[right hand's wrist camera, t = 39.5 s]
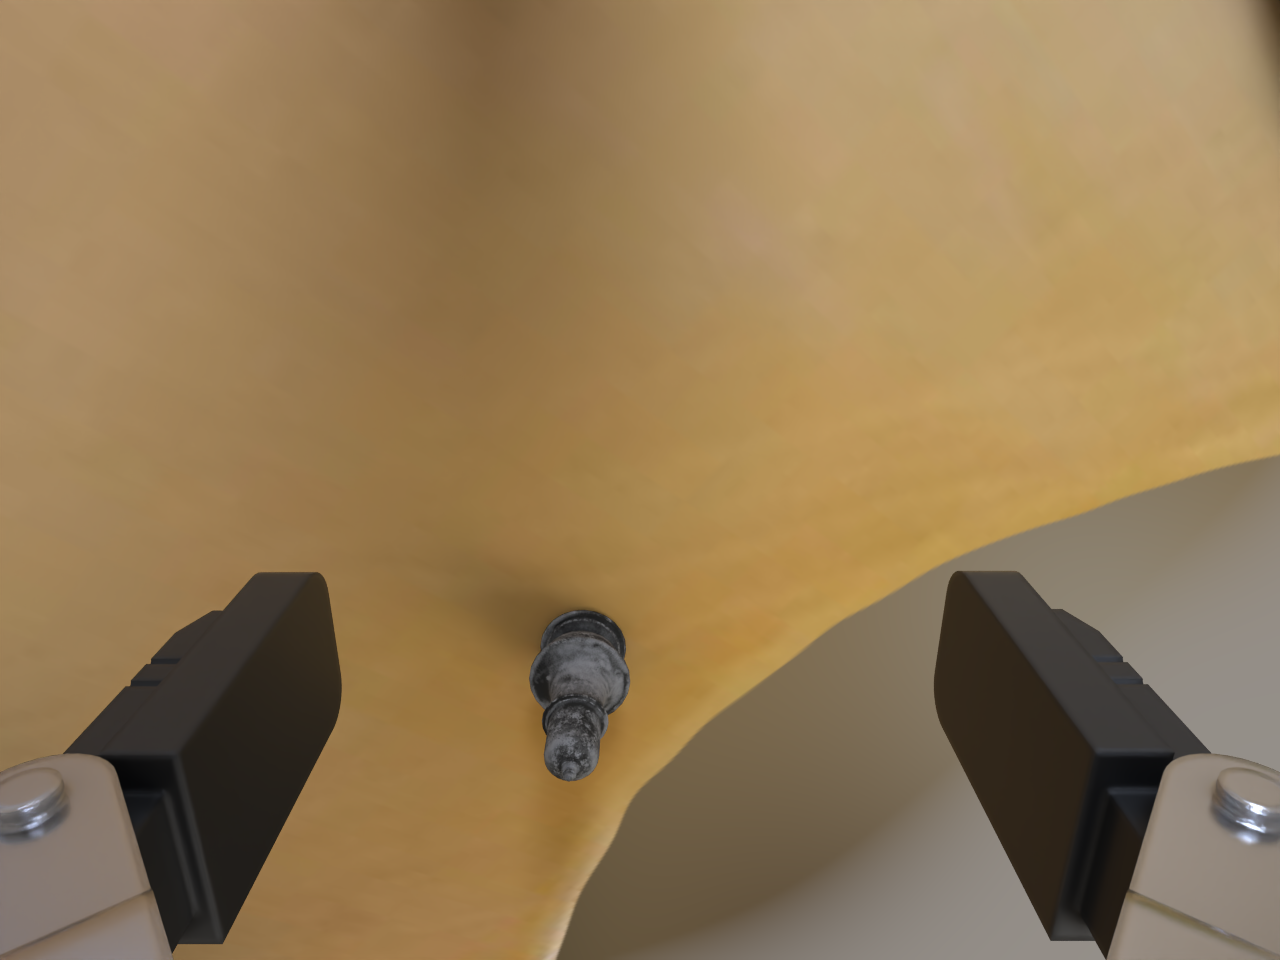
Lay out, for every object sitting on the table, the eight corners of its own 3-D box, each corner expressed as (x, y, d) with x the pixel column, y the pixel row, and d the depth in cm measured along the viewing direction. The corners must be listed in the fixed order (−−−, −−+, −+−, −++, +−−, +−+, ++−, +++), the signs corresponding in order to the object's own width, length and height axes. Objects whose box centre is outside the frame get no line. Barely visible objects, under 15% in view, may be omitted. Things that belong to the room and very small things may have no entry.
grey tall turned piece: (650, 650, 54) (652, 784, 43) (581, 702, 56) (566, 845, 45) (585, 588, 53) (570, 710, 41) (516, 644, 54) (484, 777, 43)
